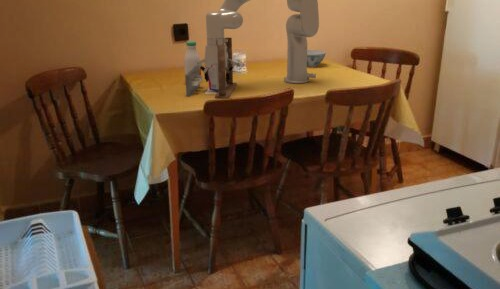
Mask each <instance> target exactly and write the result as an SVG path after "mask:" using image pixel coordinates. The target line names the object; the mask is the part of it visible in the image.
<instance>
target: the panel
mask: <svg viewBox="0 0 500 289" xmlns="http://www.w3.org/2000/svg"><path fill="white" fill-rule="evenodd" d="M184 79H186V81H185V90H186V97H187V98H188V97H191V96H192V95H193V94H194V93H195V92H196V91H197V89H198V88H199V87H200V86H201V82H202V81H203V80H204V75H201V76H199V66H195V67H194V68H193V69H192V70H191V71H190V72H188V73H187V74H186V75H185V74H184Z"/></svg>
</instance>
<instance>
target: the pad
mask: <svg viewBox="0 0 500 289" xmlns="http://www.w3.org/2000/svg"><path fill="white" fill-rule="evenodd" d="M217 92H218V91H216V90H209V87H208V88H207V90H206V91H205V92H204V95H206V94H207V95H216V93H217Z"/></svg>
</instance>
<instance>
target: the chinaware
mask: <svg viewBox="0 0 500 289" xmlns="http://www.w3.org/2000/svg"><path fill="white" fill-rule="evenodd" d="M325 57H326V51H325V50H319V49H318V50H317V49H307V66H308V67H307V68H316V67H319V66H318V65H319V64H321V63H322V62H323V61H324V59H325Z"/></svg>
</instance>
